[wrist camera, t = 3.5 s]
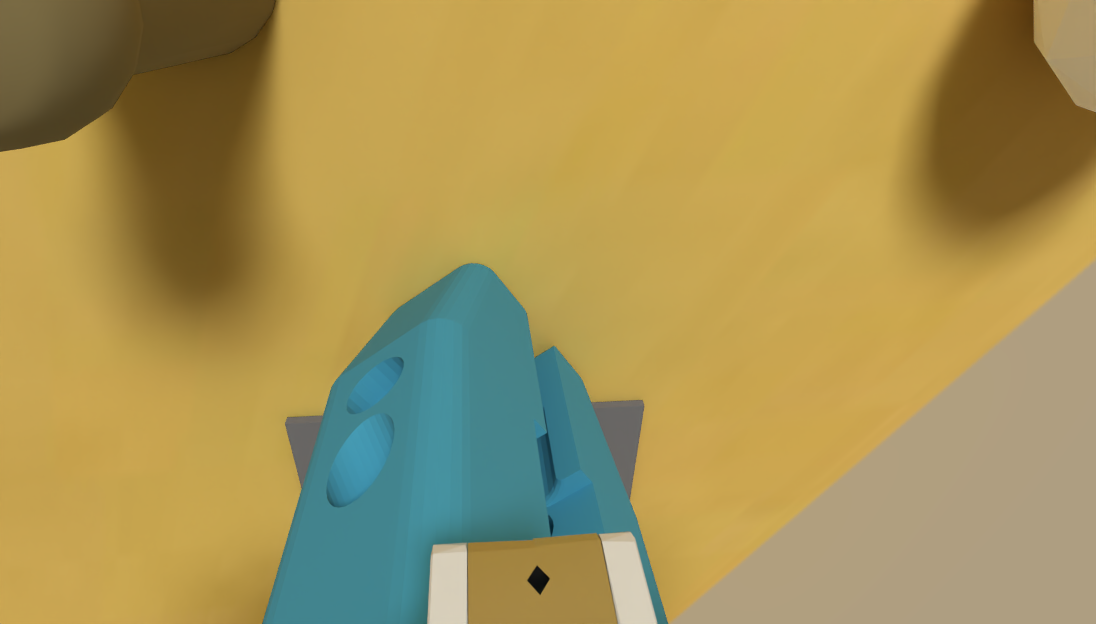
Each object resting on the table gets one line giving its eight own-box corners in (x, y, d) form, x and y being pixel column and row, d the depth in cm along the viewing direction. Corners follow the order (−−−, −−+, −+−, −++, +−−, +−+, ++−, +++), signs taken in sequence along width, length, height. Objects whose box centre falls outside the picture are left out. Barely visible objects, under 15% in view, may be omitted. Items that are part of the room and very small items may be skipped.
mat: (613, 590, 38) (614, 597, 38) (336, 613, 36) (335, 620, 36) (642, 400, 30) (644, 405, 30) (287, 417, 28) (285, 423, 28)
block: (348, 290, 25) (96, 1070, 8) (451, 219, 24) (420, 933, 7) (523, 466, 31) (600, 1139, 13) (611, 415, 30) (815, 1071, 12)
